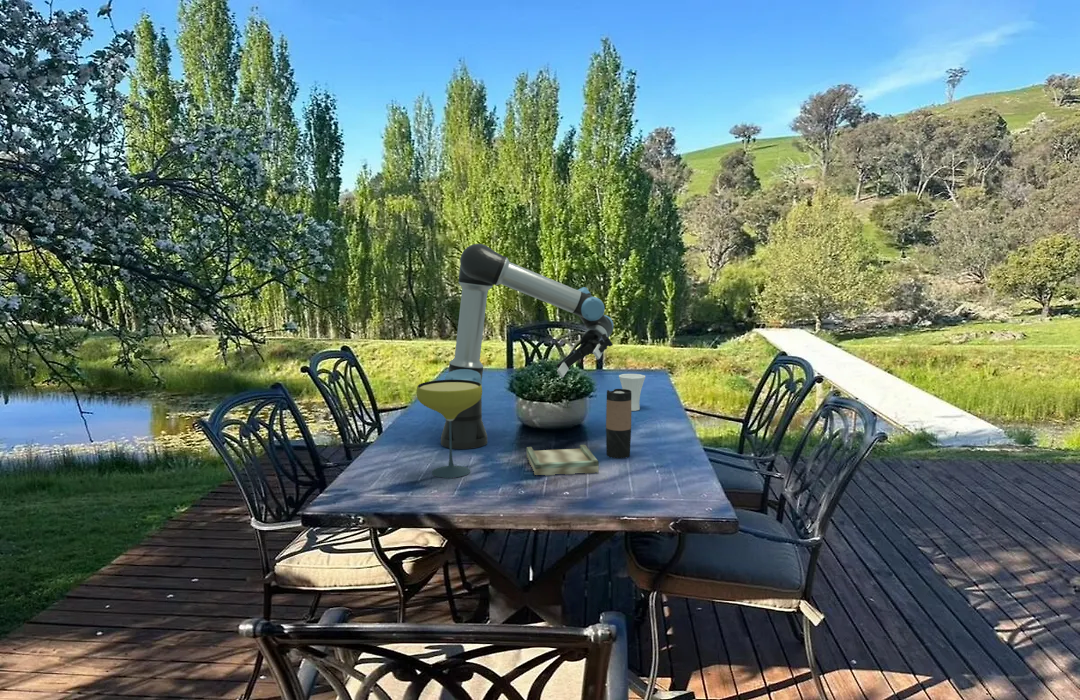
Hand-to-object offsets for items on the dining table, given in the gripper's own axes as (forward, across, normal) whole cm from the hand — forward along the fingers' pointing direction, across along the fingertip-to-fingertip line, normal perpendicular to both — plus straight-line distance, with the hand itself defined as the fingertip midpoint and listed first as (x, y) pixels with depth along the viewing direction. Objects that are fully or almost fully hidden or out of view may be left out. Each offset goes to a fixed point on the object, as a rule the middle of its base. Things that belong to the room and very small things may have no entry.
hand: (577, 365), depth 210 cm
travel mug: (+6, +2, -30) cm, 31 cm away
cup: (-56, +18, -40) cm, 71 cm away
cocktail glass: (+36, +34, -2) cm, 50 cm away
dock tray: (+20, +12, -20) cm, 31 cm away
